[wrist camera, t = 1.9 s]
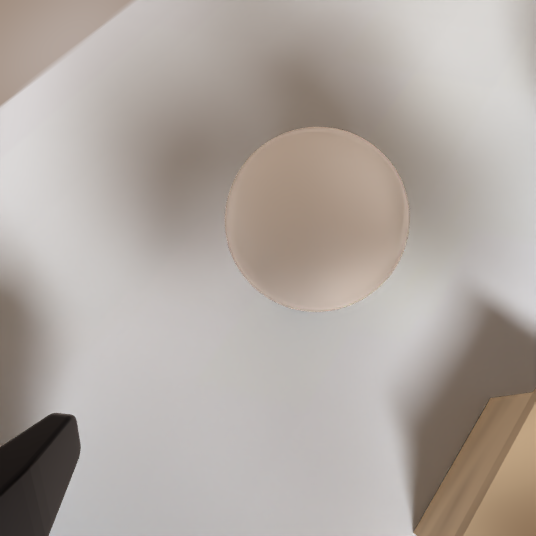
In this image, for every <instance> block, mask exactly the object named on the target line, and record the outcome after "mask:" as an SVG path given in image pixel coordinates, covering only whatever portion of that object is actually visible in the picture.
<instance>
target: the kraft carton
mask: <svg viewBox="0 0 536 536" xmlns="http://www.w3.org/2000/svg"><path fill="white" fill-rule="evenodd" d="M413 533H414V534H416V535H417V536H536V388H535V390H534V391H533V392H530V393H523V394H516V395H509V396H502V397H495V398H490V400H489V402H488V403H487V405H486V407H485V409H484V410H483V412H482V414H481V416H480V417H479V419H478V421H477V423H476V424H475V426H474V428H473V429H472V431H471V433H470V435H469V436H468V438H467V440H466V442H465V443H464V445H463V447H462V449H461V450H460V452H459V454H458V456H457V457H456V459H455V461H454V463H453V464H452V466H451V468H450V469H449V471H448V473H447V475H446V476H445V478H444V480H443V482H442V483H441V485H440V487H439V489H438V490H437V492H436V494H435V496H434V497H433V499H432V501H431V503H430V504H429V506H428V508H427V510H426V511H425V513H424V515H423V516H422V518H421V520H420V522H419V523H418V525H417V527H416V529H415V530H414V532H413Z"/></svg>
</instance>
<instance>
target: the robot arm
mask: <svg viewBox="0 0 536 536" xmlns="http://www.w3.org/2000/svg"><path fill="white" fill-rule="evenodd" d="M80 448H81V446H80V439H79V433H78V426H77V421H76V418H75V417H74V416H73V415H70V414H61V413H53V414H50V415H48V416H47V417H45V418H44V419H42V420H41V421H39V422H38V423H36V424H35V425H33V426H32V427H30V428H29V429H27V430H26V431H24V432H23V433H21V434H20V435H18V436H16V437H15V438H13V439H12V440H10V441H9V442H7V443H6V444H4V445H3V446H1V447H0V536H48V535H49V533H50V530H51V528H52V526H53V523H54V520H55V518H56V515H57V513H58V510H59V508H60V505H61V503H62V500H63V497H64V495H65V492H66V490H67V487H68V485H69V482H70V479H71V477H72V474H73V472H74V469H75V467H76V464H77V461H78V459H79V455H80Z"/></svg>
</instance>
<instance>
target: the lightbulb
mask: <svg viewBox="0 0 536 536" xmlns="http://www.w3.org/2000/svg"><path fill="white" fill-rule="evenodd" d="M409 225H410V211H409V203H408V198H407V194H406V190H405V187H404V184H403V182H402V180H401V178H400V176H399V174H398V172H397V170H396V169H395V167H394V166H393V164H392V163H391V162H390V160H389V159H388V158H387V157H386V156H385V155H384V154H383V153H382V152H381V151H380V150H379V149H378V148H377V147H375V146H374V145H373V144H371V143H370V142H369V141H367V140H365V139H364V138H362V137H360V136H358V135H356V134H353V133H351V132H348V131H345V130H341V129H337V128H331V127H305V128H299V129H295V130H292V131H288V132H286V133H283V134H281V135H279V136H276V137H275V138H273V139H271V140H269V141H268V142H266V143H265V144H263V145H262V146H261V147H259V148H258V149H257V150H256V151H255V152H254V153H253V154H252V155H251V156H250V157H249V158H248V159H247V160H246V161H245V163H244V164H243V165H242V167H241V168H240V170H239V171H238V173H237V175H236V177H235V179H234V181H233V183H232V186H231V188H230V191H229V194H228V198H227V202H226V208H225V233H226V239H227V243H228V247H229V250H230V253H231V255H232V257H233V260H234V262H235V264H236V265H237V267H238V269H239V270H240V272H241V273H242V275H243V276H244V277H245V279H246V280H247V281H248V282H249V283H250V284H251V285H252V286H253V287H254V288H255V289H256V290H257V291H259V292H260V293H261V294H262V295H264V296H265V297H267V298H268V299H270V300H272V301H274V302H276V303H278V304H280V305H283V306H285V307H288V308H292V309H295V310H300V311H308V312H324V311H332V310H337V309H341V308H344V307H347V306H350V305H352V304H355V303H357V302H359V301H361V300H363V299H364V298H366V297H367V296H369V295H370V294H372V293H373V292H374V291H376V290H377V289H378V288H379V287H380V286H381V285H382V284H383V283H384V282H385V281H386V280H387V279H388V278H389V276H390V275H391V274H392V272H393V271H394V269H395V268H396V266H397V264H398V263H399V261H400V259H401V257H402V254H403V252H404V249H405V246H406V243H407V239H408V234H409Z"/></svg>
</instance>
